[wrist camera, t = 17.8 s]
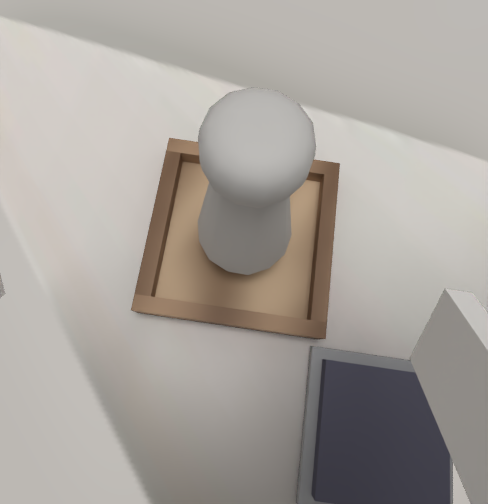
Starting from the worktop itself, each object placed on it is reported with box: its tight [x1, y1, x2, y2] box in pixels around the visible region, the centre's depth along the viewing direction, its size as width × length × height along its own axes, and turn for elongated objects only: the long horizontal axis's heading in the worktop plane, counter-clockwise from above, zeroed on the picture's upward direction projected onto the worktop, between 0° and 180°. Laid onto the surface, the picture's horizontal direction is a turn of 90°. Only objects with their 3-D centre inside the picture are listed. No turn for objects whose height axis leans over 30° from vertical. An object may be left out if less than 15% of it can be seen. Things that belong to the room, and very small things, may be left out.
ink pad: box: [296, 346, 453, 504], centre depth 22 cm, size 9×9×2 cm
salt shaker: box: [198, 87, 316, 275], centre depth 18 cm, size 6×6×13 cm
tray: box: [131, 138, 340, 339], centre depth 24 cm, size 12×12×2 cm
